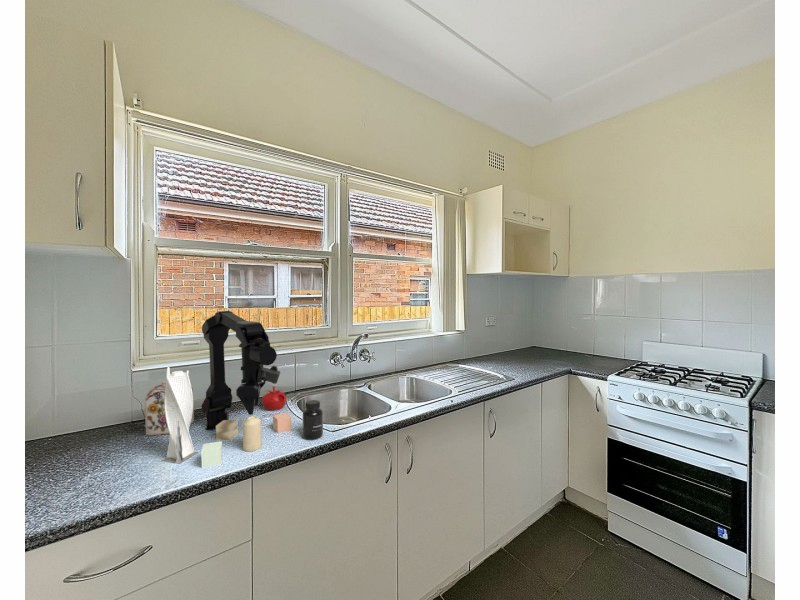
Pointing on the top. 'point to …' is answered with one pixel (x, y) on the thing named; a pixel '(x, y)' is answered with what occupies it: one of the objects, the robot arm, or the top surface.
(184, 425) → the skyscraper
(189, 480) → the top surface
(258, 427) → the candle
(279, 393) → the pomegranate
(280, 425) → the terracotta block
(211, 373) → the robot arm
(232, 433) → the birch block
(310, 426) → the supplement bottle
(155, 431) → the decorative jar
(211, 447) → the sage block
